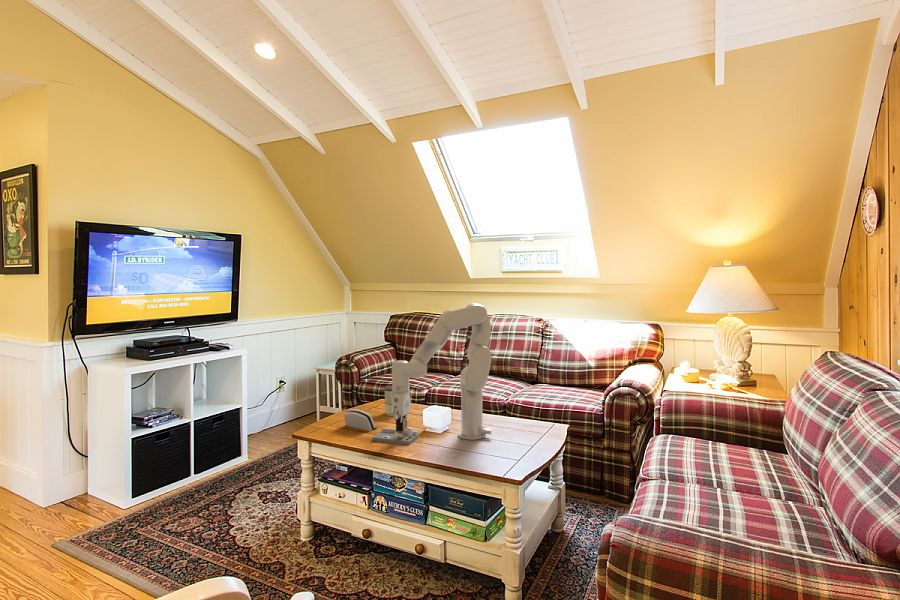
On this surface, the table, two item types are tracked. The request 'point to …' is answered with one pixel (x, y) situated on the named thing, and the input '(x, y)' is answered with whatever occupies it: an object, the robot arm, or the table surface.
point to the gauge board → (388, 436)
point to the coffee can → (388, 400)
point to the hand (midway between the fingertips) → (401, 429)
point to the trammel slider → (401, 433)
